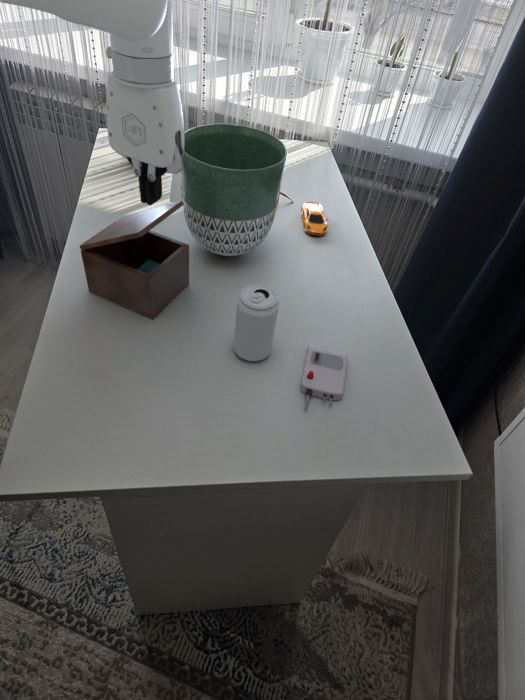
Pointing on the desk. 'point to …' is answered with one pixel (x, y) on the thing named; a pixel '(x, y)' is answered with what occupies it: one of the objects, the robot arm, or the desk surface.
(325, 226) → the toy car
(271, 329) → the beverage can
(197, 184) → the planter
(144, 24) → the robot arm
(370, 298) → the desk surface
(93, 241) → the lid
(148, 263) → the block
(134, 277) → the chest
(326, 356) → the white electronic control box
